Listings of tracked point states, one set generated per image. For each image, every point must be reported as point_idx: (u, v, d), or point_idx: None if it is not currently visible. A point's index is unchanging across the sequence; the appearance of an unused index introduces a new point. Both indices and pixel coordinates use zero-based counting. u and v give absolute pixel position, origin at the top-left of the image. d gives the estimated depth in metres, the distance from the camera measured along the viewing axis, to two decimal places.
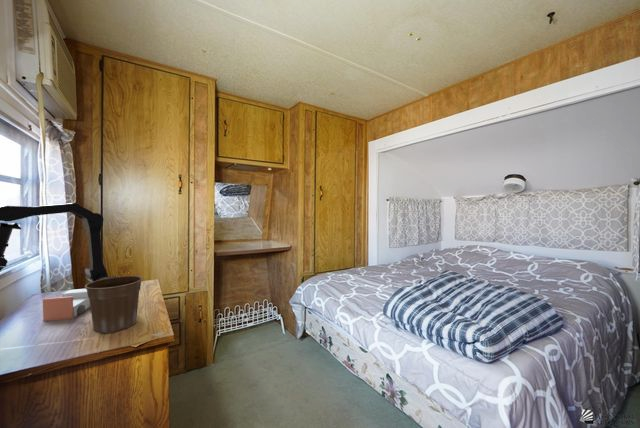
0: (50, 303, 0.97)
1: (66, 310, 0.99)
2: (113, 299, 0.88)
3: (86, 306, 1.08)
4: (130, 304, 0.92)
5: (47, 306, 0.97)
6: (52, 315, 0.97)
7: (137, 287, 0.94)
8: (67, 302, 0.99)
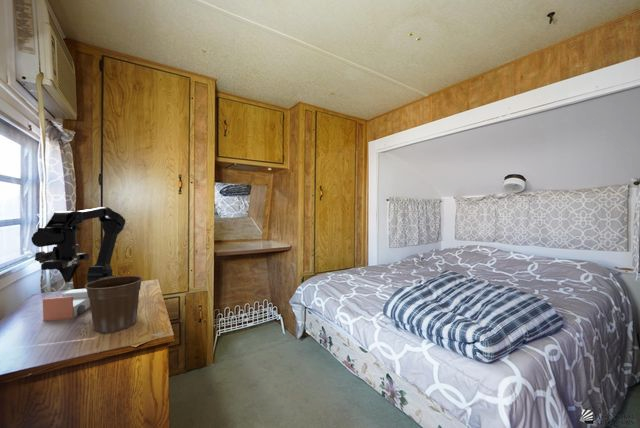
0: (50, 303, 0.97)
1: (66, 310, 0.99)
2: (113, 299, 0.88)
3: (86, 306, 1.08)
4: (130, 304, 0.92)
5: (47, 306, 0.97)
6: (52, 315, 0.97)
7: (137, 287, 0.94)
8: (67, 302, 0.99)
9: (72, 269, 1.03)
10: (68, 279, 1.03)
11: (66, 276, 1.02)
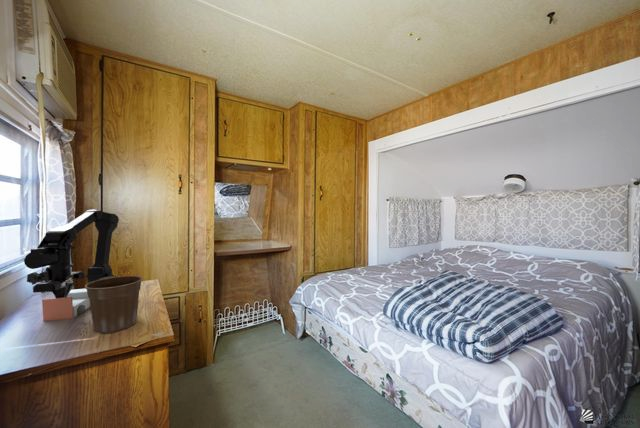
0: (49, 303, 0.97)
1: (66, 311, 0.98)
2: (113, 299, 0.88)
3: (86, 306, 1.08)
4: (130, 304, 0.92)
5: (47, 306, 0.97)
6: (52, 315, 0.97)
7: (137, 287, 0.94)
8: (67, 302, 0.98)
9: (66, 290, 0.99)
10: None
11: (59, 297, 0.99)
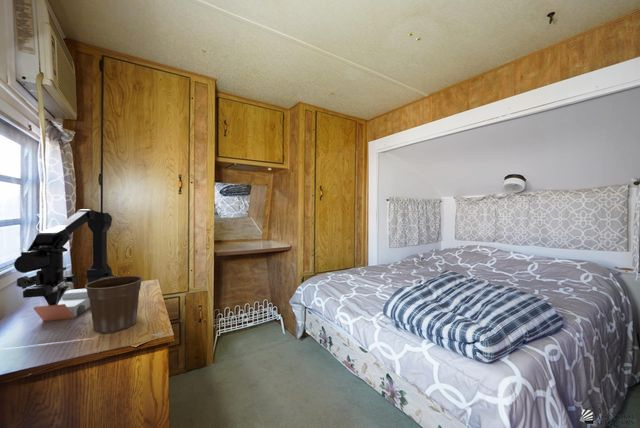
0: (43, 310, 0.94)
1: (63, 314, 0.97)
2: (113, 299, 0.88)
3: (86, 306, 1.08)
4: (130, 304, 0.92)
5: (41, 312, 0.94)
6: (50, 317, 0.97)
7: (137, 287, 0.94)
8: (61, 309, 0.95)
9: (58, 294, 0.95)
10: None
11: (51, 302, 0.94)
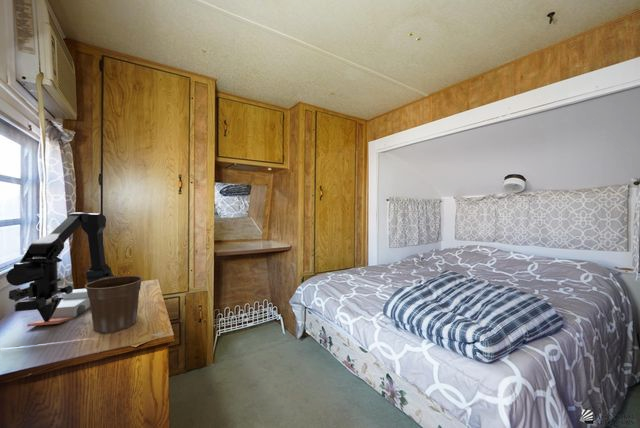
0: (39, 324, 0.92)
1: None
2: (113, 299, 0.88)
3: (86, 306, 1.08)
4: (130, 304, 0.92)
5: None
6: None
7: (137, 287, 0.94)
8: None
9: (52, 307, 0.91)
10: (47, 318, 0.92)
11: (45, 314, 0.91)
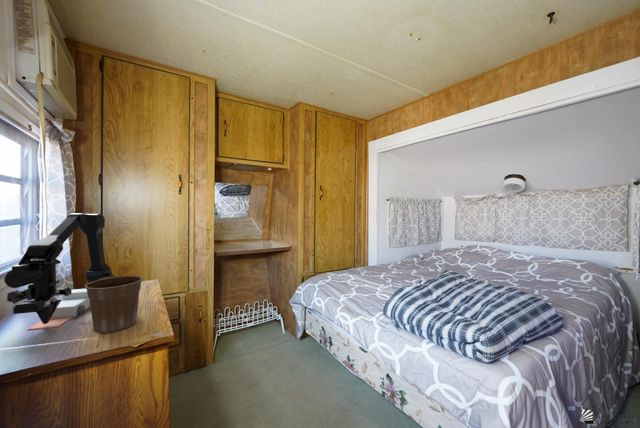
0: None
1: None
2: (113, 299, 0.88)
3: (86, 306, 1.08)
4: (130, 304, 0.92)
5: None
6: None
7: (137, 287, 0.94)
8: None
9: (50, 309, 0.91)
10: (46, 320, 0.91)
11: (44, 317, 0.91)
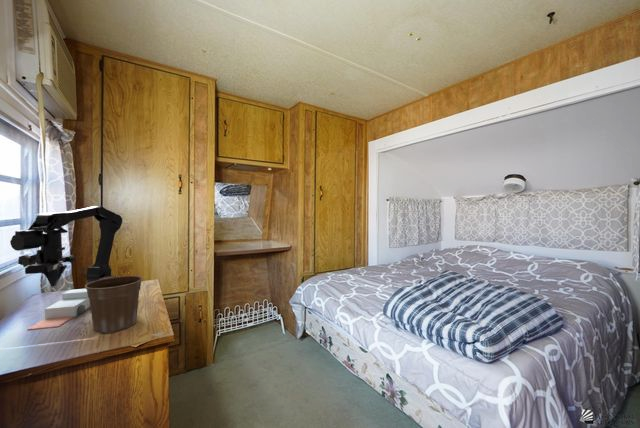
0: None
1: None
2: (113, 299, 0.88)
3: (86, 306, 1.08)
4: (130, 304, 0.92)
5: None
6: None
7: (137, 287, 0.94)
8: None
9: (58, 272, 1.00)
10: (54, 282, 1.01)
11: (52, 279, 1.00)
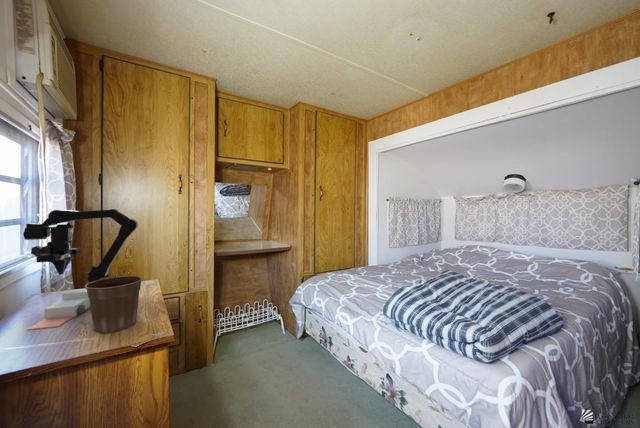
0: None
1: None
2: (113, 299, 0.88)
3: (86, 306, 1.08)
4: (130, 304, 0.92)
5: None
6: None
7: (137, 287, 0.94)
8: None
9: (65, 262, 1.13)
10: (61, 271, 1.14)
11: (59, 268, 1.13)
